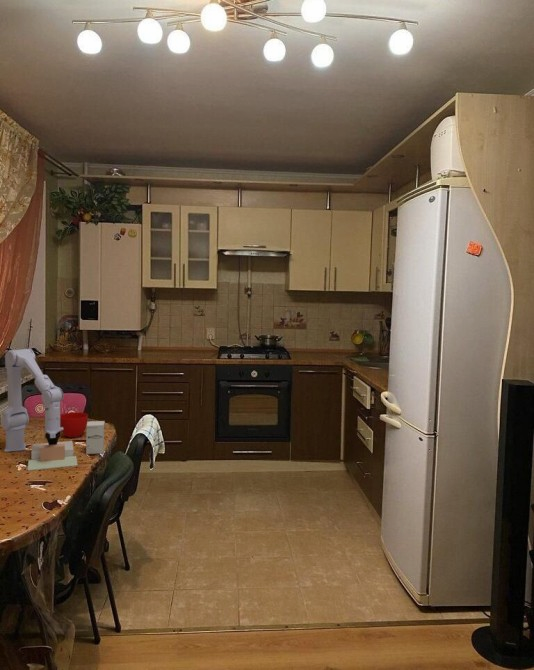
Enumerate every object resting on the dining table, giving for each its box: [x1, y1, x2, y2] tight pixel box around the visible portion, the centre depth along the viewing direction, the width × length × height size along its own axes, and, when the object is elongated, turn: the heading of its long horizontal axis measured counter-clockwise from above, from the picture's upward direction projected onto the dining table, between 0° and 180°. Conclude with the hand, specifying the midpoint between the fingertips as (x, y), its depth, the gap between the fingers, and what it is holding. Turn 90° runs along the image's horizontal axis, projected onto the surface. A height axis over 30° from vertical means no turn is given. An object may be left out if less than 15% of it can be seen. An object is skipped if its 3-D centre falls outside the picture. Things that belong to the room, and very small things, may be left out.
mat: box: [26, 455, 78, 472], centre depth 203 cm, size 12×18×1 cm, turn 113°
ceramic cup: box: [60, 411, 89, 438], centre depth 244 cm, size 13×17×10 cm
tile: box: [41, 444, 65, 462], centre depth 206 cm, size 6×9×2 cm
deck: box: [30, 440, 75, 460], centre depth 215 cm, size 13×16×3 cm
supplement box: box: [85, 420, 106, 455], centre depth 220 cm, size 7×7×13 cm
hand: (52, 450), depth 208 cm, fingers closed
